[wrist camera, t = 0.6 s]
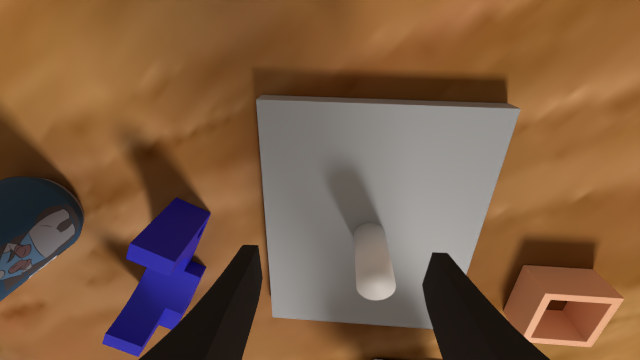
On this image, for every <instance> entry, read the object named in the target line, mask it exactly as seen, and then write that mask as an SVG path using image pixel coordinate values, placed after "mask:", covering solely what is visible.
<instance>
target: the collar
mask: <svg viewBox="0 0 640 360" xmlns="http://www.w3.org/2000/svg"><path fill="white" fill-rule="evenodd" d="M550 300H562V301H567V303H566V305H565V307H564V308H563V310H562V311H560V310H546V308H547V306H548V304H549V302H550ZM623 300H624V298H623V297H622V296H621V295H620V294H619V293H618V292H617V291H616V290H615V289H614V288H613V287H612V286H610V285H609V284H608V283H607V282H606V281H605V280H604V279H603V278H602V277H601V276H600V275H599V274H598V273H597V272H596V271H595V270H594V269H580V268H564V267H548V266H532V265H523V267H522V269H521V272H520V274H519V276H518V278H517V281H516V283H515V285H514V288H513V290H512V292H511V294H510V297H509V299H508V301H507V304H506V306H505V308H504V310H503V312H504V314H505V315H506V317H507V319H508V321H509V322H510V324H511V325H512V326H513V327H515V328H516V329H517V330H518V331H519V332H520V333H521V334H522V335H523V336H524V337H525V338H526V339H527V340H528V341H530V342H531V343H544V344H557V345H570V346H583V347H592V345H593V344H594V342H595V341H596V339H597V338H598V336H599V335H600V333H601V332H602V331H603V329H604V328H605V326H606V325H607V323H608V322H609V320H610V319H611V317H612V316H613V315H614V313H615V312H616V310H617V309H618V307H619V306H620V304H621V303H622V302H623Z"/></svg>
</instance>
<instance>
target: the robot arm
mask: <svg viewBox="0 0 640 360" xmlns="http://www.w3.org/2000/svg"><path fill="white" fill-rule="evenodd" d="M262 278H263V277H262V270H261V263H260V255H259V248H258V245H243V246H242V247H241V248H240V249H239V251H238V252H237V254H236V255H235V257H234V258H233V259H232V261H231V262H230V264H229V265H228V266H227V268H226V269H225V270H224V272H223V273H222V274H221V275H220V277H219V278H218V279H217V281H216V282H215V283H214V284H213V286H212V287H211V288H210V289H209V290H208V292H207V293H206V294H205V295H204V296H203V297H202V298H201V300H200V301H199V302H198V303H197V304H196V305H195V306H194V308H193V309H192V310H191V311H190V312H189V313H188V314H187V315H186V316H185V317H184V318H183V319H182V320H181V321H180V322H179V323H178V324H177V325H176V326H175V327H174V328H173V329H172V330H171V331H170V332H169V333H168V334H167V335H166V336H165V337H164V338H162V339H161V340H160V341H159V342H158V343H157V344H156V345H155V346H154V347H153V348H152V349H150V350H149V351H148V352H147V353H146V354H145V355H143V356H142V357H141V358H140V359H139V360H242V356H243V353H244V349H245V346H246V343H247V339H248V336H249V332H250V329H251V326H252V322H253V319H254V315H255V312H256V308H257V305H258V301H259V296H260V290H261V284H262ZM422 287H423V292H424V298H425V303H426V307H427V311H428V314H429V318H430V321H431V324H432V327H433V330H434V333H435V336H436V339H437V343H438V346H439V349H440V352H441V355H442V358H443V360H550V359H549V358H548V357H546V356H545V355H544V354H543V353H542V352H541V351H539V350H538V349H537V348H536V347H535V346H534V345H533V344H532V343H531V342H530V341H528V340H527V339H526V338H525V337H524V336H523V335H522V334H521V333H520V332H519V331H518V330H517V329H516V328H515V327H513V326H512V325H511V324H510V323H509V322H508V321H507V320H506V318H505V317H504V316H503V315H502V314H501V313H500V312H499V311H498V310H497V309H496V308H495V307H494V306H493V305H492V304H491V303H490V302H489V301H488V299H487V298H486V297H485V296H484V295H483V294H482V293H481V292H480V291H479V289H478V288H477V287H476V286H475V285H474V284H473V283H472V281H471V280H470V279H469V278H468V277H467V275H466V274H465V273H464V272H463V271H462V270H461V268H460V267H459V266H458V265H457V264H456V262H455V261H454V260H453V259H452V258H451V256H450V255H449V254H448V253H437V252H432V255H431V258H430V261H429V265H428V268H427V271H426V274H425V277H424V280H423V283H422ZM374 360H381V359H374Z"/></svg>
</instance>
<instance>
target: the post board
mask: <svg viewBox="0 0 640 360" xmlns="http://www.w3.org/2000/svg"><path fill="white" fill-rule="evenodd" d="M256 105H257V118H258V131H259V144H260V157H261V170H262V183H263V196H264V209H265V222H266V235H267V248H268V261H269V274H270V287H271V300H272V313H273V317H276V318H290V319H303V320H317V321H330V322H343V323H357V324H370V325H384V326H397V327H411V328H424V329H433V327H432V324H431V321H430V318H429V314H428V311H427V307H426V303H425V298H424V292H423V287H422V283H423V280H424V277H425V274H426V271H427V268H428V265H429V261H430V258H431V255H432V252H437V253H448V254H449V255H450V256H451V258H452V259H453V260H454V261H455V262H456V264H457V265H458V266H459V267H460V268H461V270H462V271H463V272H464V273H465V274H467V271H468V268H469V265H470V262H471V259H472V255H473V252H474V249H475V246H476V243H477V240H478V237H479V234H480V231H481V228H482V225H483V222H484V219H485V216H486V213H487V210H488V207H489V204H490V201H491V198H492V195H493V191H494V188H495V185H496V182H497V179H498V176H499V173H500V170H501V167H502V164H503V161H504V158H505V155H506V152H507V149H508V146H509V143H510V140H511V137H512V134H513V131H514V127H515V124H516V121H517V118H518V115H519V112H520V108H518V107H515V106H513V105H511V104H508V103H484V102H455V101H426V100H397V99H368V98H339V97H310V96H281V95H261V96H260V97H259V98H257V99H256Z"/></svg>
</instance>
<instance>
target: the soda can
mask: <svg viewBox="0 0 640 360" xmlns="http://www.w3.org/2000/svg"><path fill="white" fill-rule="evenodd" d="M83 222H84V211H83V208H82V206H81V204H80V203H79V201H78V200H77V198H76V197H75V196H74V195H73V194H72V193H71V192H70V191H69V190H68V189H66V188H65V187H63V186H62V185H60V184H58V183H56V182H54V181H52V180H49V179H45V178H38V177H10V178H6V179H3V180H1V181H0V301H1V300H3V299H4V298H5V297H6V296H8V295H9V294H10V293H11V292H13V291H14V290H15V289H16V288H18V287H19V286H20V285H22V284H23V283H24V282H25V281H27V280H28V279H29V278H30V277H32V276H33V275H34V274H36V273H37V272H38V271H39V270H41V269H42V268H43V267H44V266H46V265H47V264H48V263H49V262H51V261H52V260H53V259H55V258H56V257H57V256H58V255H60V254H61V253H62V252H63V251H65V250H66V249H67V248H69V247H70V246H71V245H72V244H74V243H75V242H76V241H77V239H78V238H79V236H80V233H81V230H82V226H83Z"/></svg>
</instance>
